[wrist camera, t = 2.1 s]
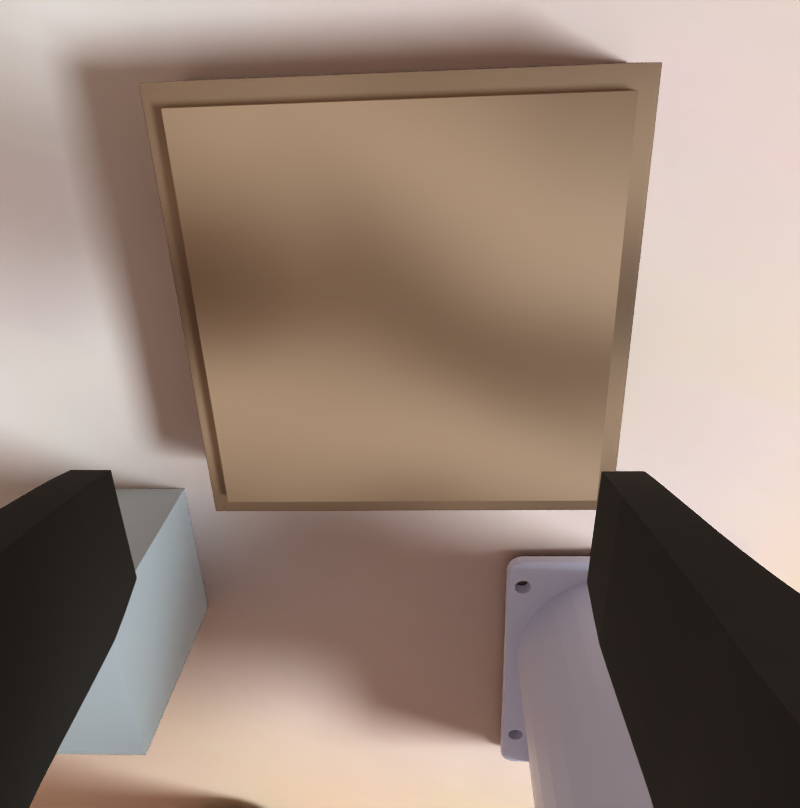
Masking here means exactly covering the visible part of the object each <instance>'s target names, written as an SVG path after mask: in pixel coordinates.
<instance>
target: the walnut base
mask: <svg viewBox="0 0 800 808" xmlns="http://www.w3.org/2000/svg"><path fill="white" fill-rule="evenodd" d="M661 68H662V62H658V63H610V64H585V65H560V66H535V67H510V68H485V69H460V70H435V71H411V72H386V73H361V74H336V75H311V76H286V77H261V78H236V79H211V80H186V81H169V82H153V83H139V87H140V92H141V98H142V103H143V109H144V114H145V120H146V125H147V131H148V136H149V142H150V148H151V153H152V159H153V164H154V170H155V175H156V181H157V186H158V192H159V197H160V203H161V208H162V214H163V220H164V225H165V231H166V236H167V242H168V247H169V253H170V258H171V264H172V269H173V275H174V281H175V286H176V292H177V297H178V303H179V308H180V314H181V319H182V325H183V330H184V336H185V341H186V347H187V353H188V358H189V364H190V369H191V375H192V380H193V386H194V391H195V397H196V402H197V408H198V413H199V419H200V425H201V430H202V436H203V441H204V447H205V452H206V458H207V463H208V469H209V474H210V480H211V485H212V491H213V497H214V502H215V508H216V511H364V510H596V509H597V502H598V494H599V487H600V479H601V472H602V471H616V465H617V457H618V448H619V439H620V430H621V421H622V412H623V404H624V395H625V386H626V377H627V368H628V359H629V351H630V342H631V333H632V324H633V315H634V306H635V298H636V289H637V280H638V271H639V262H640V253H641V245H642V236H643V227H644V218H645V209H646V200H647V191H648V183H649V174H650V165H651V156H652V147H653V138H654V130H655V121H656V112H657V103H658V94H659V85H660V77H661Z"/></svg>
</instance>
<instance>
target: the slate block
mask: <svg viewBox="0 0 800 808" xmlns="http://www.w3.org/2000/svg"><path fill="white" fill-rule="evenodd" d="M115 490H116V494H117V498H118V502H119V506H120V510H121V515H122V519H123V523H124V527H125V531H126V535H127V539H128V543H129V547H130V551H131V556H132V560H133V564H134V568H135V572H136V576H137V580H136V583H135V586H134V588H133V591H132V594H131V597H130V600H129V603H128V606H127V609H126V612H125V615H124V617H123V620H122V623H121V625H120V628H119V631H118V633H117V636H116V639H115V641H114V643H113V645H112V647H111V649H110V651H109V653H108V655H107V657H106V659H105V661H104V663H103V665H102V667H101V669H100V671H99V672H98V674H97V676H96V678H95V680H94V682H93V684H92V686H91V688H90V690H89V692H88V694H87V696H86V698H85V699H84V701H83V703H82V705H81V707H80V709H79V711H78V713H77V715H76V717H75V719H74V720H73V722H72V724H71V726H70V728H69V730H68V732H67V734H66V736H65V738H64V739H63V741H62V743H61V745H60V747H59V749H58V751H57V753H56V754H107V755H146V754H147V751H148V749H149V747H150V744H151V742H152V739H153V737H154V735H155V732H156V730H157V728H158V725H159V723H160V720H161V718H162V716H163V713H164V711H165V709H166V706H167V704H168V701H169V699H170V697H171V694H172V692H173V690H174V687H175V685H176V682H177V680H178V678H179V675H180V673H181V671H182V668H183V666H184V663H185V661H186V659H187V656H188V654H189V652H190V649H191V647H192V644H193V642H194V640H195V637H196V635H197V632H198V630H199V628H200V625H201V623H202V621H203V618H204V616H205V613H206V611H207V609H208V604H207V599H206V594H205V589H204V584H203V579H202V574H201V569H200V564H199V559H198V554H197V549H196V544H195V539H194V534H193V529H192V524H191V519H190V514H189V509H188V504H187V499H186V494H185V489H115Z"/></svg>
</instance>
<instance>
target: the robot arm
mask: <svg viewBox="0 0 800 808" xmlns="http://www.w3.org/2000/svg"><path fill="white" fill-rule="evenodd" d="M136 580H137V576H136V572H135V568H134V564H133V560H132V556H131V551H130V547H129V543H128V539H127V535H126V531H125V527H124V523H123V519H122V515H121V510H120V506H119V502H118V498H117V494H116V490H115V486H114V482H113V478H112V473H111V470H70V471H68V472H66V473H64V474H62V475H59V476H57V477H55V478H53V479H52V480H50V481H48V482H46V483H44V484H42V485H41V486H39V487H37V488H35V489H33V490H32V491H30V492H28V493H27V494H25V495H23V496H21V497H20V498H18V499H16V500H15V501H13V502H11V503H10V504H8V505H6V506H4V507H3V508H1V509H0V808H29V806H30V804H31V802H32V800H33V798H34V796H35V794H36V792H37V790H38V788H39V785H40V783H41V781H42V779H43V778H44V776H45V774H46V772H47V770H48V768H49V766H50V764H51V762H52V760H53V759H54V757H55V755H56V753H57V751H58V749H59V747H60V745H61V743H62V741H63V739H64V738H65V736H66V734H67V732H68V730H69V728H70V726H71V724H72V722H73V720H74V719H75V717H76V715H77V713H78V711H79V709H80V707H81V705H82V703H83V701H84V699H85V698H86V696H87V694H88V692H89V690H90V688H91V686H92V684H93V682H94V680H95V678H96V676H97V674H98V672H99V671H100V669H101V667H102V665H103V663H104V661H105V659H106V657H107V655H108V653H109V651H110V649H111V647H112V645H113V643H114V641H115V639H116V636H117V633H118V631H119V628H120V625H121V623H122V620H123V617H124V615H125V612H126V609H127V606H128V603H129V600H130V597H131V594H132V591H133V588H134V586H135V583H136ZM520 581H526V582H528V583H527V584H526V585H522V586H520V585H517V583H518V582H520ZM513 730H515V731H513ZM500 745H501V753H502V756H503V757H504V758H505V759H507V760H510V761H529V766H530V773H531V781H532V788H533V796H534V804H535V808H800V593H798V592H797V591H795V590H794V589H793V588H791V587H790V586H788V585H787V584H786V583H784V582H783V581H781V580H780V579H779V578H777V577H776V576H774V575H773V574H772V573H770V572H769V571H768V570H766V569H765V568H764V567H763V566H761V565H760V564H759V563H757V562H756V561H755V560H753V559H752V558H751V557H749V556H748V555H747V554H746V553H744V552H743V551H742V550H740V549H739V548H738V547H737V546H735V545H734V544H733V543H732V542H730V541H729V540H728V539H727V538H725V537H724V536H723V535H722V534H720V533H719V532H718V531H717V530H716V529H714V528H713V527H712V526H711V525H709V524H708V523H707V522H706V521H705V520H703V519H702V518H701V517H700V516H699V515H697V514H696V513H695V512H694V511H693V510H691V509H690V508H689V507H688V506H687V505H685V504H684V503H683V502H682V501H681V500H679V499H678V498H677V497H676V496H675V495H673V494H672V493H671V492H670V491H669V490H667V489H666V488H665V487H664V486H663V485H661V484H660V483H659V482H658V481H656V480H655V479H654V478H653V477H651V476H650V475H649V474H647V473H646V472H644V471H602V472H601V479H600V487H599V494H598V502H597V509H596V517H595V524H594V532H593V539H592V547H591V554H590V556H521V557H516V558H514V559H512V560H511V561H510V562H509V564H508V567H507V582H506V609H505V636H504V663H503V690H502V717H501V744H500Z"/></svg>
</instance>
